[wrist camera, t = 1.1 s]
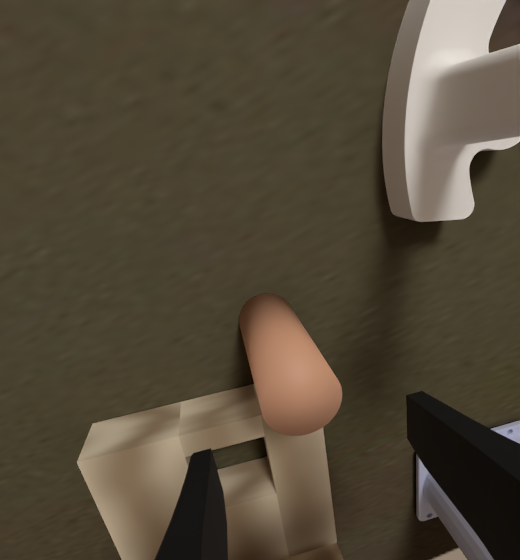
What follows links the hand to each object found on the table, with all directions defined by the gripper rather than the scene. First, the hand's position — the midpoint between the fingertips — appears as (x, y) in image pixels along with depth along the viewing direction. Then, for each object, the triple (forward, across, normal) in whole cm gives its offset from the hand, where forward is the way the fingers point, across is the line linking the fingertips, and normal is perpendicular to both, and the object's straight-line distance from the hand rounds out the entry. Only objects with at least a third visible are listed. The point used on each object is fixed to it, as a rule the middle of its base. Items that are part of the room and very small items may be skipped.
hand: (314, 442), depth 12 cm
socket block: (+10, +5, +12) cm, 16 cm away
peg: (+10, 0, 0) cm, 10 cm away
